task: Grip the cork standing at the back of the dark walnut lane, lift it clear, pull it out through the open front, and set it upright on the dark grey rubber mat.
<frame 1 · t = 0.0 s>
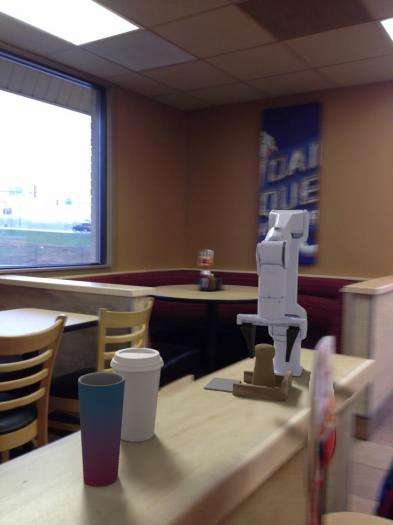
hand: (269, 359, 102), 10 cm above the counter, tool pointing down, fingers open, 7 cm apart
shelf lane: (261, 389, 113), on the counter
coffee cup: (136, 435, 86), on the counter
cup: (100, 479, 70), on the counter
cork: (263, 390, 112), on the counter
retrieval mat: (223, 385, 116), on the counter
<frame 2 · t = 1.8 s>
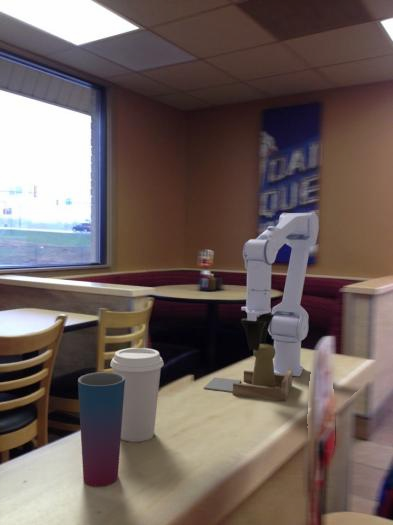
hand: (257, 346, 113), 10 cm above the counter, tool pointing down, fingers open, 7 cm apart
nothing on the counter moved.
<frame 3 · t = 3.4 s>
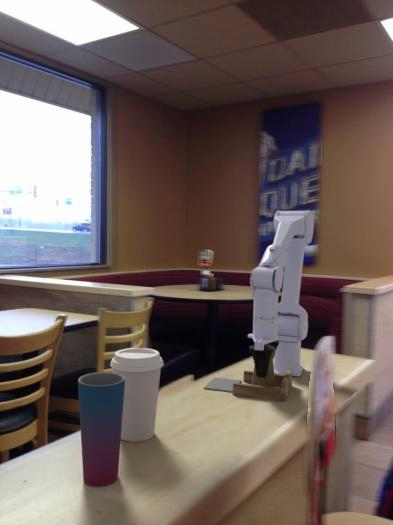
hand: (263, 373, 112), 4 cm above the counter, tool pointing down, fingers closed on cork, 5 cm apart
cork: (263, 390, 112), on the counter, touching gripper
everything else where it was.
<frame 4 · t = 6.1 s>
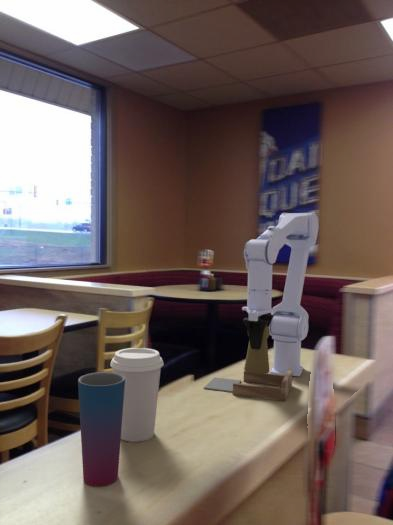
hand: (258, 346, 112), 10 cm above the counter, tool pointing down, fingers closed on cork, 5 cm apart
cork: (256, 371, 113), point 4 cm above the counter, touching gripper
everything else where it was.
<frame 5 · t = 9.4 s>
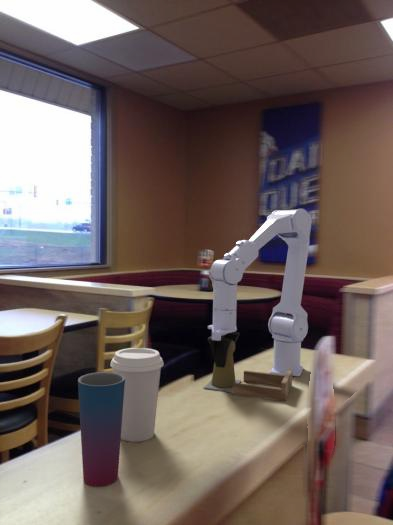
hand: (223, 364, 115), 5 cm above the counter, tool pointing down, fingers closed on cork, 5 cm apart
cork: (223, 384, 115), resting on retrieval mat, touching gripper
everything else where it was.
when the fingers open (5 cm above the counter, at t = 10.0 s): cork stays where it is, resting on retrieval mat.
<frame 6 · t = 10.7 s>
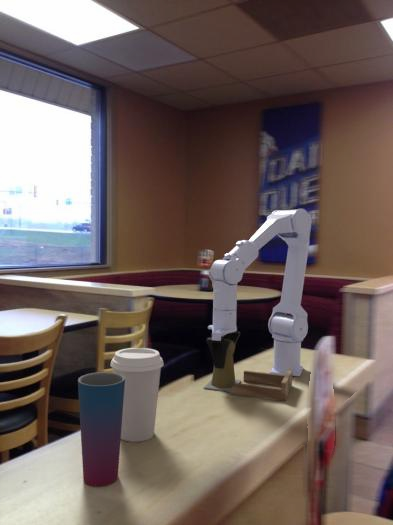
hand: (223, 364, 115), 5 cm above the counter, tool pointing down, fingers open, 7 cm apart
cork: (223, 385, 115), resting on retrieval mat
everything else where it was.
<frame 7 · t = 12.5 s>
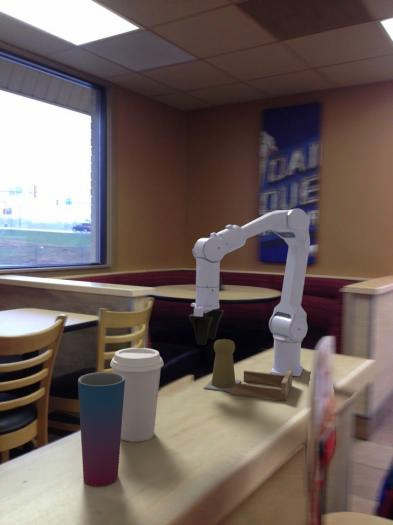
hand: (206, 341, 117), 10 cm above the counter, tool pointing down, fingers open, 7 cm apart
nothing on the counter moved.
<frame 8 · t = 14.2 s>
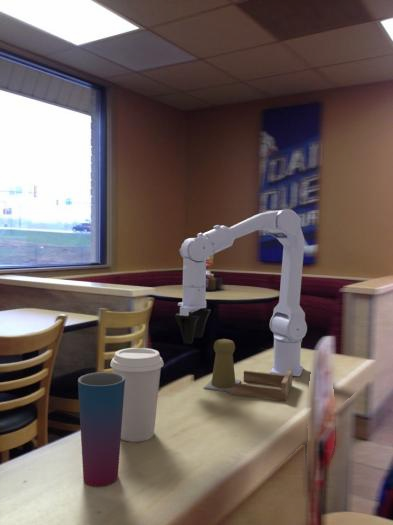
hand: (193, 340, 118), 10 cm above the counter, tool pointing down, fingers open, 7 cm apart
nothing on the counter moved.
at the end: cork inside the target area (0.8 cm from its centre), resting on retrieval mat; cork tilted 0°; the gripper is holding nothing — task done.
